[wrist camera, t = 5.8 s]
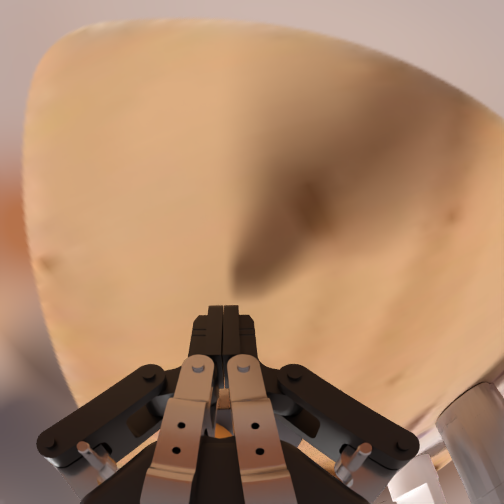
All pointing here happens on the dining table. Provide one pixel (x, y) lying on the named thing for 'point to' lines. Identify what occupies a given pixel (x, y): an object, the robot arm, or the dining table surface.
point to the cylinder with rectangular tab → (417, 483)
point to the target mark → (283, 430)
